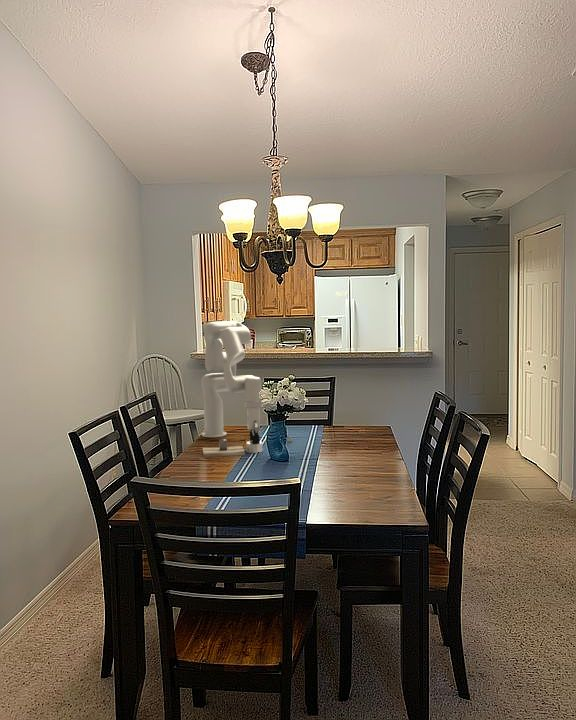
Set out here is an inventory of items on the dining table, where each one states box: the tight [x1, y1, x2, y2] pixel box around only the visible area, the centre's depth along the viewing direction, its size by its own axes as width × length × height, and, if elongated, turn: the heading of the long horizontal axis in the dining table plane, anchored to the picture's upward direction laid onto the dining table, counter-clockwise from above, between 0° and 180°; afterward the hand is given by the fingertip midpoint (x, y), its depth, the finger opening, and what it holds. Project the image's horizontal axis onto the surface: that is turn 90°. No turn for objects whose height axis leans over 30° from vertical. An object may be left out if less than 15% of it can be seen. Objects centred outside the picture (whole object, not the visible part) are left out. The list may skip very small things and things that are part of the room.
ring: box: [245, 440, 263, 454], centre depth 295 cm, size 7×7×4 cm
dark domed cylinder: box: [218, 438, 228, 451], centre depth 293 cm, size 3×3×4 cm
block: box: [202, 445, 246, 458], centre depth 293 cm, size 12×18×2 cm, turn 99°
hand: (254, 442), depth 295 cm, fingers open, 9 cm apart
